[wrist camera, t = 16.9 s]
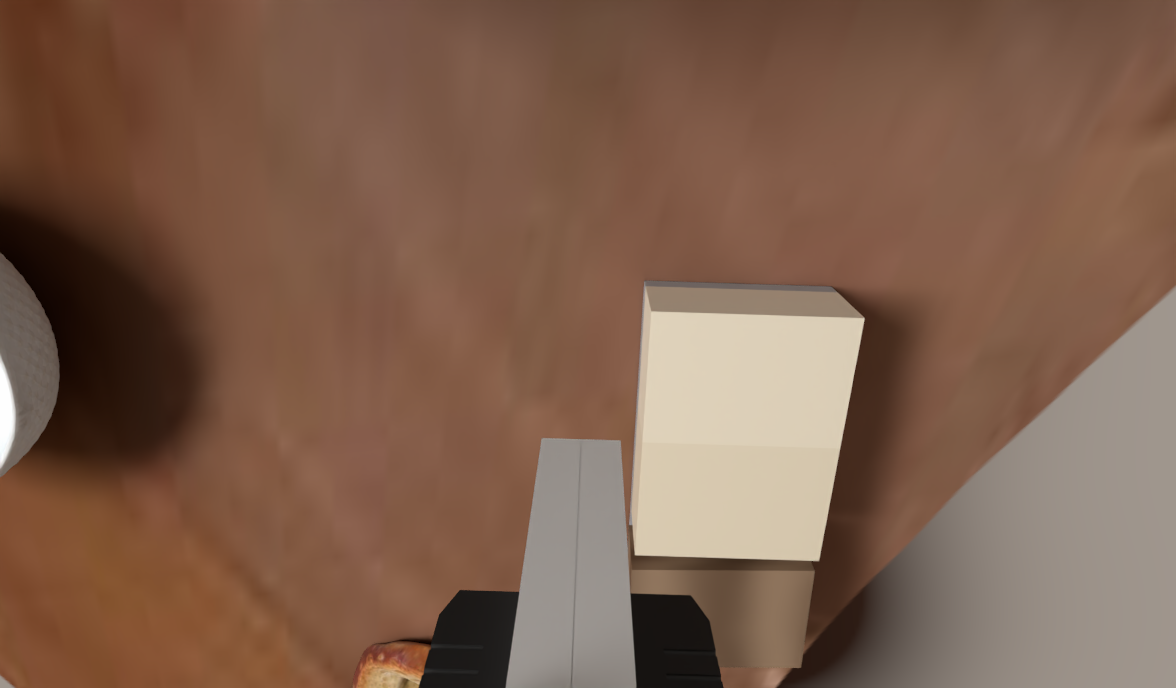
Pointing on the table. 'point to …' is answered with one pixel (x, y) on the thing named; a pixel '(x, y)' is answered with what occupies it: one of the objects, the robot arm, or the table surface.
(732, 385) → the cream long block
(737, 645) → the tan brown block
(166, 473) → the table surface
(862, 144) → the table surface
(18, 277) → the cereal bowl
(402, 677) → the bread slice
